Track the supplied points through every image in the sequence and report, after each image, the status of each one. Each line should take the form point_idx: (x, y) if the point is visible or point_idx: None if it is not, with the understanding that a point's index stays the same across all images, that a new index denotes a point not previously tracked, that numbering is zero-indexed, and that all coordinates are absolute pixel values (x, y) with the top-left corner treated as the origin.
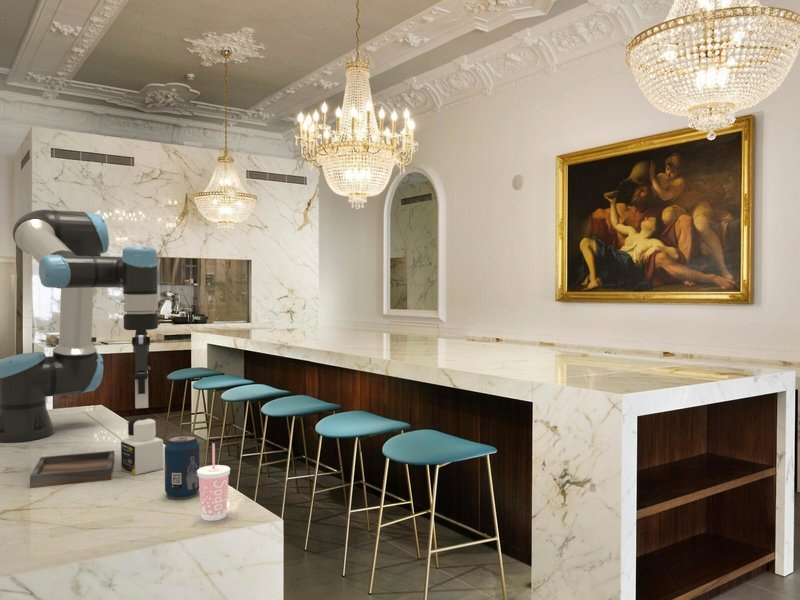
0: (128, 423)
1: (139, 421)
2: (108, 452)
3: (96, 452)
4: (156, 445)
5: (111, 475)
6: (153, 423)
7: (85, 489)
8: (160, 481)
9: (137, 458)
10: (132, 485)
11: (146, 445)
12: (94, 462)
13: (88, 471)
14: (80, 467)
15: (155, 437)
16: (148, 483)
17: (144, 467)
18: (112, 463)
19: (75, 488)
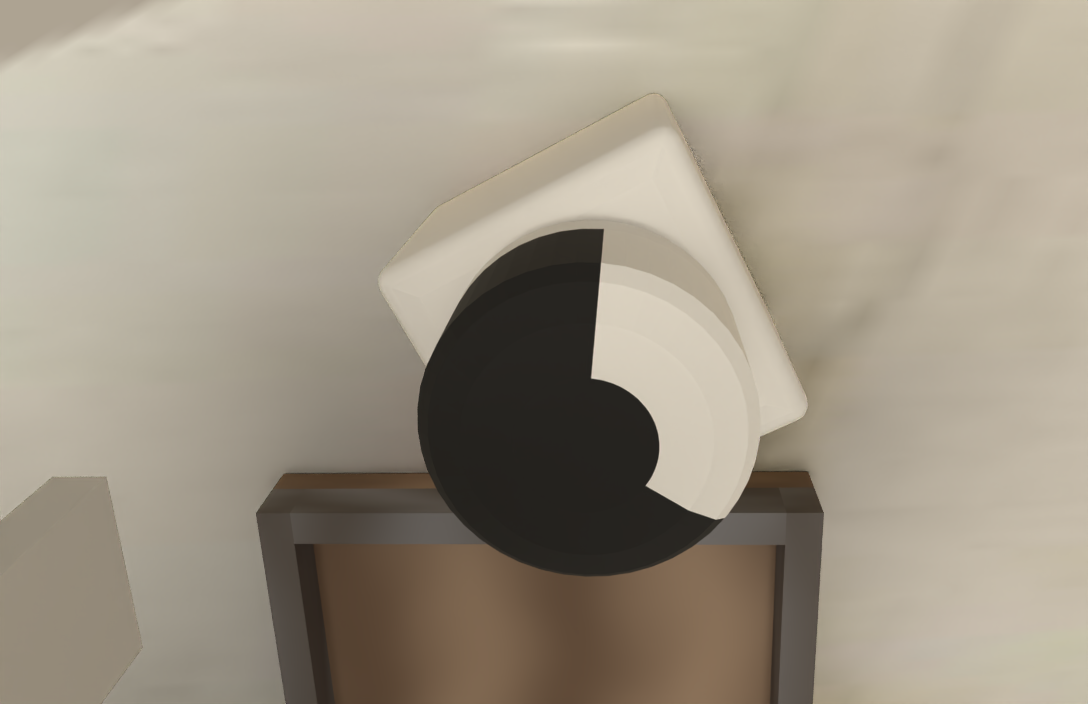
0: (619, 573)
1: (702, 470)
2: (296, 551)
3: (283, 631)
4: (706, 190)
5: (750, 478)
6: (676, 284)
7: (974, 609)
8: (1028, 110)
9: (780, 339)
10: (1033, 321)
11: (756, 294)
12: (409, 609)
13: (813, 649)
14: (520, 683)
15: (561, 214)
16: (1038, 205)
17: (741, 256)
18: None
19: (919, 664)
